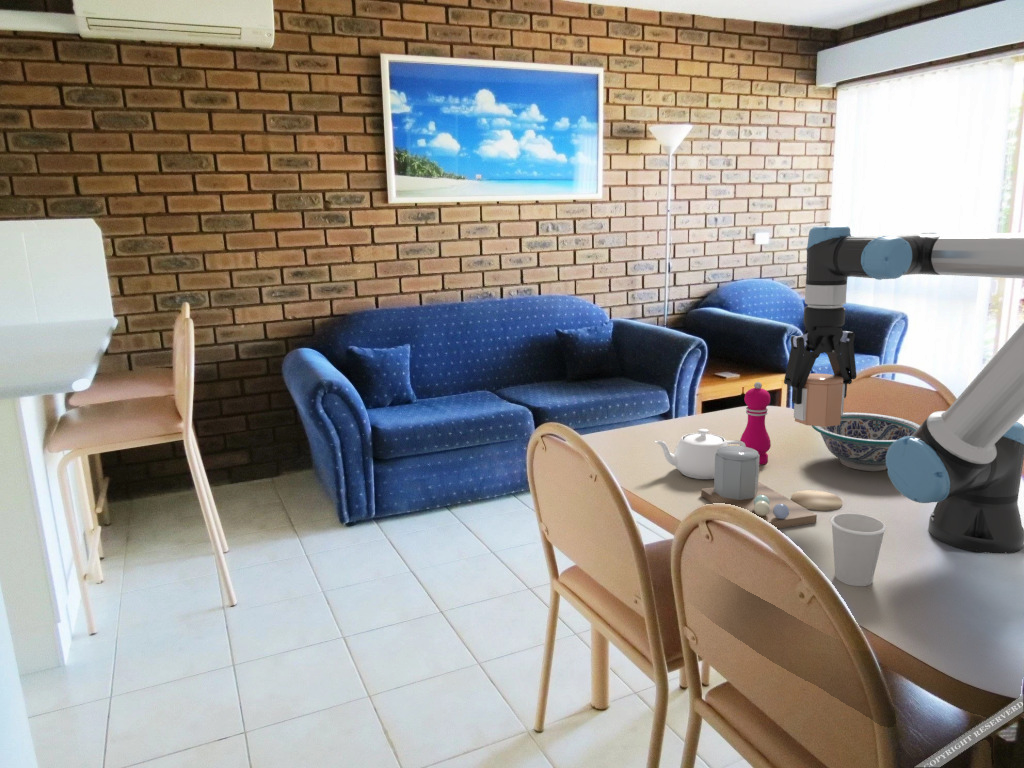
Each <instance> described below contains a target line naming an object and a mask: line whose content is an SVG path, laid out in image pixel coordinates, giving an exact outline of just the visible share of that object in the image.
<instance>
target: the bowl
mask: <svg viewBox="0 0 1024 768" xmlns="http://www.w3.org/2000/svg"><path fill="white" fill-rule="evenodd" d="M921 425H922V424H918V423H917V422H914V421H911V420H910V419H905V418H902V417H897V416H892V415H886V414H885V415H884V414H879V413H869V412H854V411H853V412H851V411H850V412H849V411H848V412H843V415H841V422H840V425H835V426H828V427H821V426H811V427H812V428H813V430H815V431H817V432H818V433H820V435H821V438H822V440H823V442H824V445H825V446H826V448H827V449H828V451H829V452H830V453H831V454H832V455H833V456H835V457H836V458H838V459H839V462H840V463H841V464H842V465H843V466H845V467H846V468H849V469H853V470H857V471H864V472H880V471H885V470H888V468H887V466H886V454H887V451H888V449H889V447H890V446H891V444H892V443H893V442H895V441H896V440H898V439H900V438H902V437H904V436H911V435H912V434H914V433H915V432H916V430H917V429H918V428H919V427H920V426H921Z"/></svg>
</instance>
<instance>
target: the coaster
mask: <svg viewBox="0 0 1024 768" xmlns="http://www.w3.org/2000/svg"><path fill="white" fill-rule="evenodd" d="M790 500H792V501H793V502H795V503H797V504H799V505H800V506H802V507H804V508H806V509H807V510H810V511H811V510H813V511H822V512H823V511H825V512H827V511H829V512H830V511H835V510H839V509H840V508H842V507H843V500H842V498H841V497H839V496H837V494H833V493H830V492H827V491H822V490H816V489H815V490H813V489H804V490H803V489H802V490H798V491H795V492H793V493H792V494H791V497H790Z"/></svg>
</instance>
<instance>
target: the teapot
mask: <svg viewBox="0 0 1024 768" xmlns="http://www.w3.org/2000/svg"><path fill="white" fill-rule="evenodd" d="M709 432H710V431H709V429H707V428H699V429H698V430H697V432H692V433H687V434H685V435H682V436H681V438H680V439H679V441H678V442H677V445H676V447H675V450H674V452H673V453H672V452H671V451H670V449H669V446H668V444H667V443H666V442H665V441H663V440H654V443H656V444H658V445H659V446H660V447H661V448H662V451H663V455H664V457H665V459H666V461H667V463H669V465H672V466H674V467H675V468H676V469H677V470H678V471H679V472H680V473H681V474H682V475H684V476H686V477H687V478H692V479H697V480H714V474H715V454H716V453H717V449H718V448H721V447H725V446H729V445H739V446H740V445H741V446H743V447H746V445H745V443H744V442H742V441H740V440H735V439H734V440H733V439H732V440H731V439H729V440H726V439H725V437H724V436H721V435H719V434H715V433H711V432H710V433H709Z"/></svg>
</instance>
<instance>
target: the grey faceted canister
mask: <svg viewBox="0 0 1024 768" xmlns="http://www.w3.org/2000/svg"><path fill="white" fill-rule="evenodd" d="M759 457H760V455H759V454H758V451H756V450H754V449H752V448H748V447H743V446H740V445H728V446H725V447H721V448H718V449H717V453H716V454H715V474H714V479H713V483H714V484H713V487H714V492H715V493H717V494H718V495H720V496H721V497H724V498H730V499H737V500H743V499H750V498H755V496H756V494H757V493H758V482H759V473H760V465H759Z"/></svg>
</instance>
